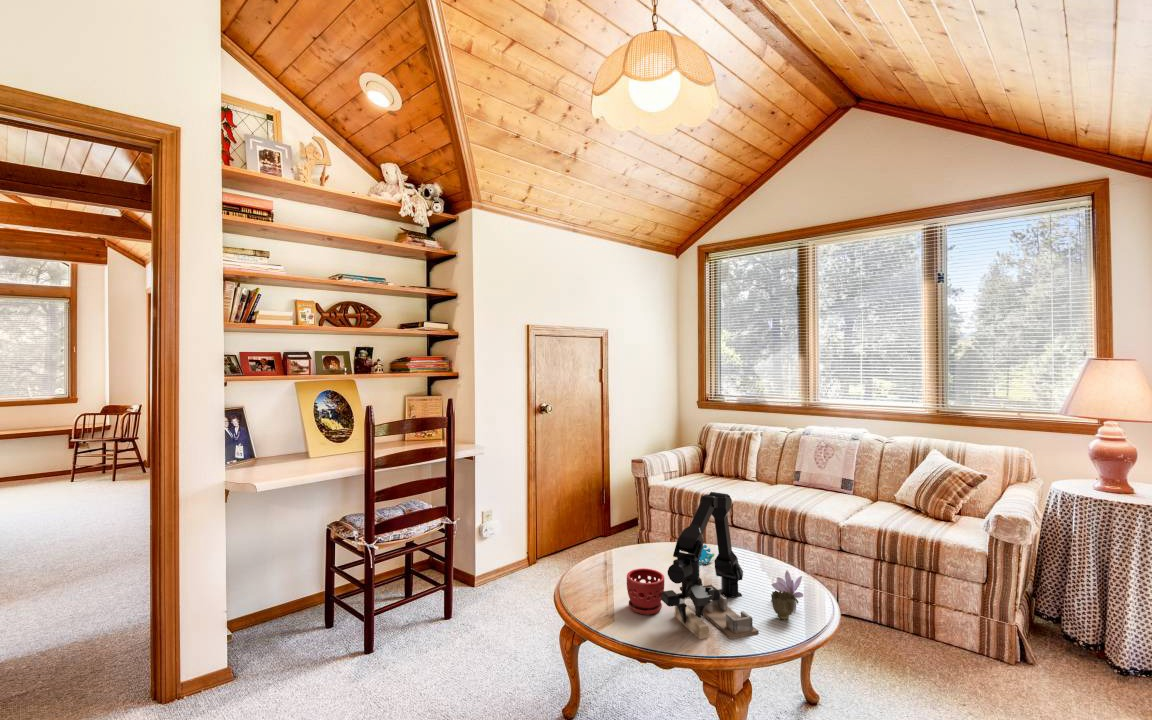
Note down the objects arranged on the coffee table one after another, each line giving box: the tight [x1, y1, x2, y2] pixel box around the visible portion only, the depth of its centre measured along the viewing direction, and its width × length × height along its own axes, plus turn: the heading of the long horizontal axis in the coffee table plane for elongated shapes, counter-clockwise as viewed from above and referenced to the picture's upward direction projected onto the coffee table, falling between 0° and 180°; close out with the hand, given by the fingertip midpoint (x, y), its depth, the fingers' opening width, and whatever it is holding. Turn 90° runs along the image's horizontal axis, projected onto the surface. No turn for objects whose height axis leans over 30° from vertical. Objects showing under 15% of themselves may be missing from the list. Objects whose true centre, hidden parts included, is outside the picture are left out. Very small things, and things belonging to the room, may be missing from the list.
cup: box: [770, 590, 795, 621], centre depth 180 cm, size 8×7×8 cm
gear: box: [699, 544, 715, 566], centre depth 235 cm, size 11×6×10 cm
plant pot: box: [626, 567, 665, 615], centre depth 188 cm, size 13×13×12 cm
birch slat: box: [674, 606, 709, 640], centre depth 175 cm, size 16×3×4 cm, turn 18°
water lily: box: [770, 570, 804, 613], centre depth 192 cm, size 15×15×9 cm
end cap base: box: [701, 593, 760, 639], centre depth 179 cm, size 21×10×5 cm, turn 16°
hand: (691, 621), depth 175 cm, fingers open, 4 cm apart
